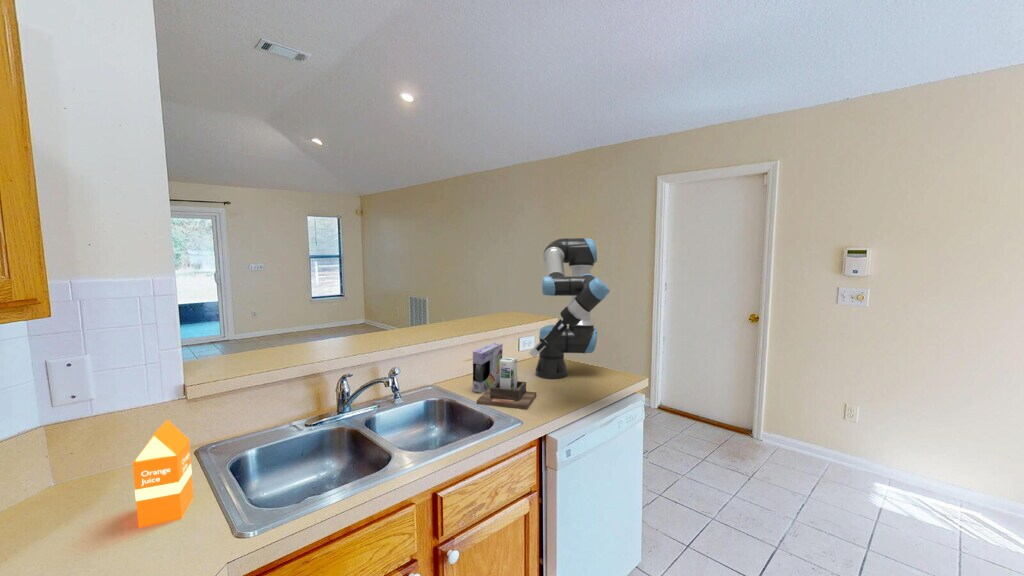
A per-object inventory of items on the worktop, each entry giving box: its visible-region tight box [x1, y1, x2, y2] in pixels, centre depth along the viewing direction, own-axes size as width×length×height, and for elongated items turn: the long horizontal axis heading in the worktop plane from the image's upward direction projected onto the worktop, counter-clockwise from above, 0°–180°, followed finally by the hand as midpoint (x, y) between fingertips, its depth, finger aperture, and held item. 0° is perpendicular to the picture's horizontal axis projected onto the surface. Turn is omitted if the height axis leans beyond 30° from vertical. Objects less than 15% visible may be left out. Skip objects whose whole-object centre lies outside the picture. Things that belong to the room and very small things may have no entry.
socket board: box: [476, 379, 537, 411], centre depth 163 cm, size 15×20×6 cm
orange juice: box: [132, 419, 194, 529], centre depth 93 cm, size 8×9×20 cm
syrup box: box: [500, 357, 518, 390], centre depth 164 cm, size 6×6×14 cm
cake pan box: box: [472, 341, 503, 394], centre depth 178 cm, size 19×5×18 cm, turn 152°
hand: (536, 350), depth 160 cm, fingers open, 13 cm apart
